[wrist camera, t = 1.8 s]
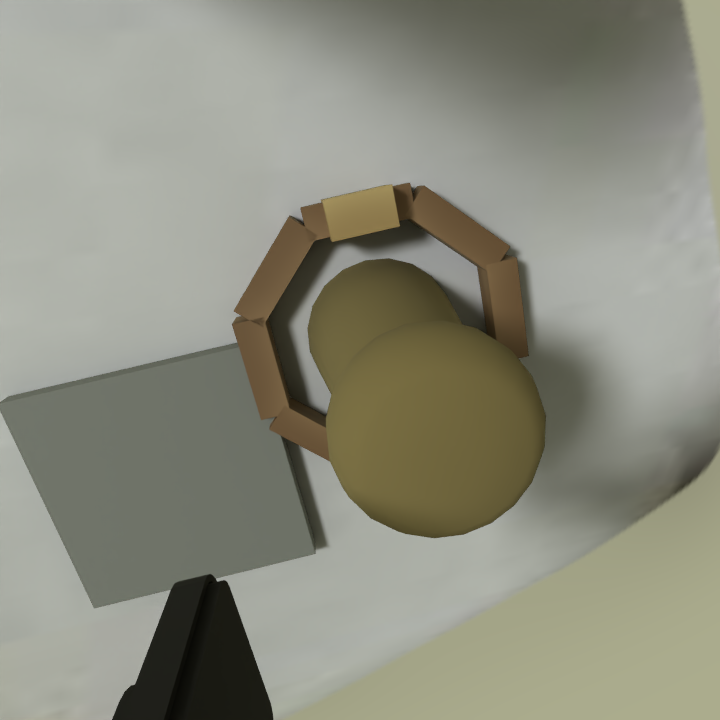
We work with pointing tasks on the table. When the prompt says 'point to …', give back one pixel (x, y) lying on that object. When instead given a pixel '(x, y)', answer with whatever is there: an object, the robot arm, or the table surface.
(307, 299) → the table surface
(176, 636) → the robot arm
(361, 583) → the table surface
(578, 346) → the table surface
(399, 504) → the cork
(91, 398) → the pad
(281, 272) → the collar
